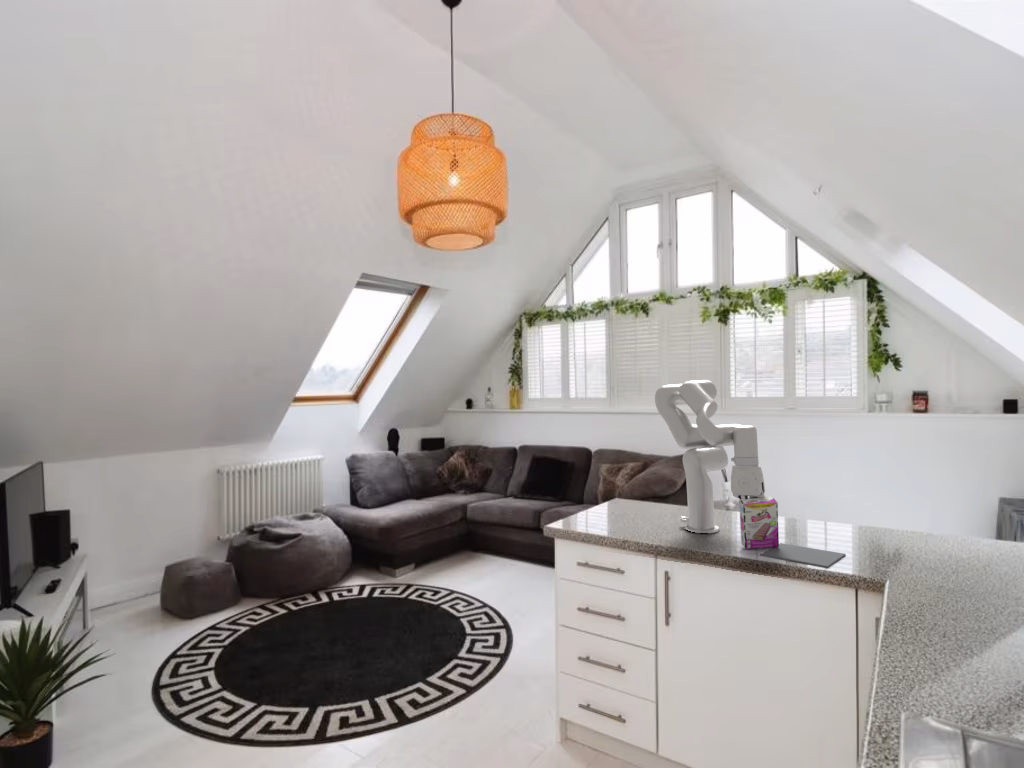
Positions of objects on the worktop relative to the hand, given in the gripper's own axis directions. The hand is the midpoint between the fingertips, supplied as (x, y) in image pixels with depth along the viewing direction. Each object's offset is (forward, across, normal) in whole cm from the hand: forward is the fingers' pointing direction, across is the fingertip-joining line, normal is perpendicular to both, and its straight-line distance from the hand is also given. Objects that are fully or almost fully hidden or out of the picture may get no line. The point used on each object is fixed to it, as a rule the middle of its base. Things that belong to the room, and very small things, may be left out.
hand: (749, 515), depth 192 cm
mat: (+11, +16, 0) cm, 20 cm away
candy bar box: (+10, +3, 0) cm, 11 cm away
